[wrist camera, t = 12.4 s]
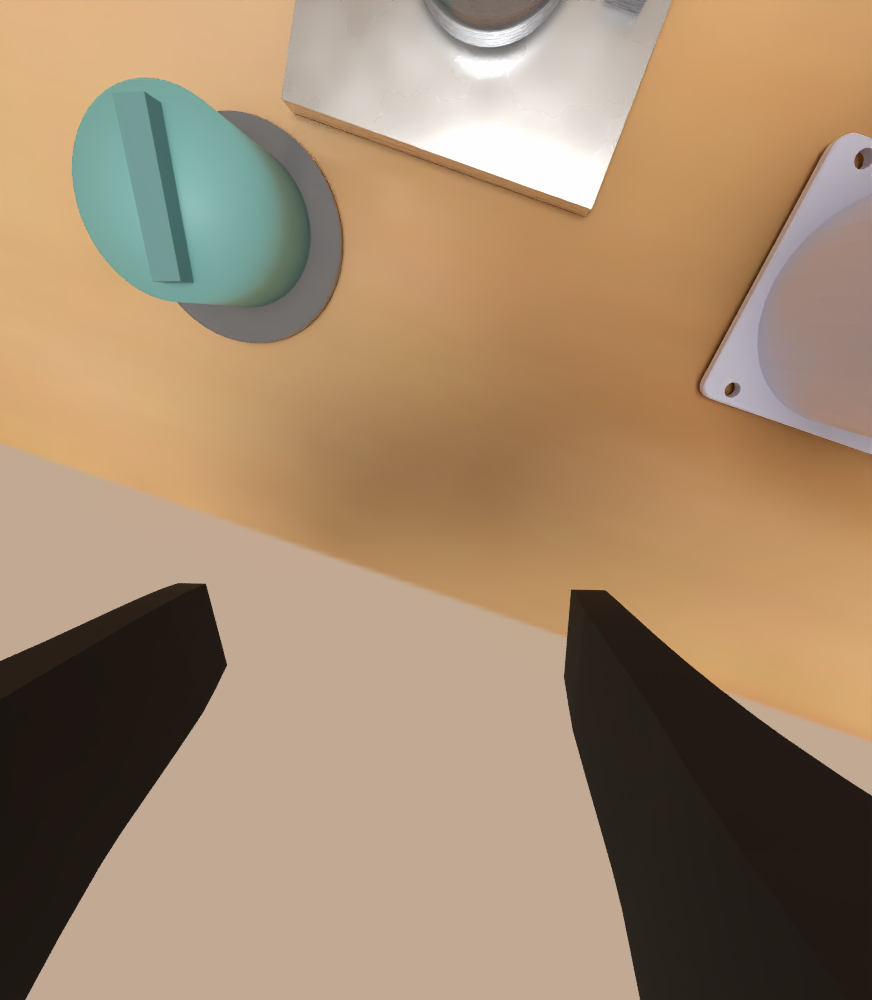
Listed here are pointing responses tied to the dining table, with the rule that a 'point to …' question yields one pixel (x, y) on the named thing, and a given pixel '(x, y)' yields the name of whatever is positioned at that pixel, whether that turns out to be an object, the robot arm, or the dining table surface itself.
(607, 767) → the robot arm
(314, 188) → the coaster
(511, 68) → the post plinth
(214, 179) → the cap
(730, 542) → the dining table surface
